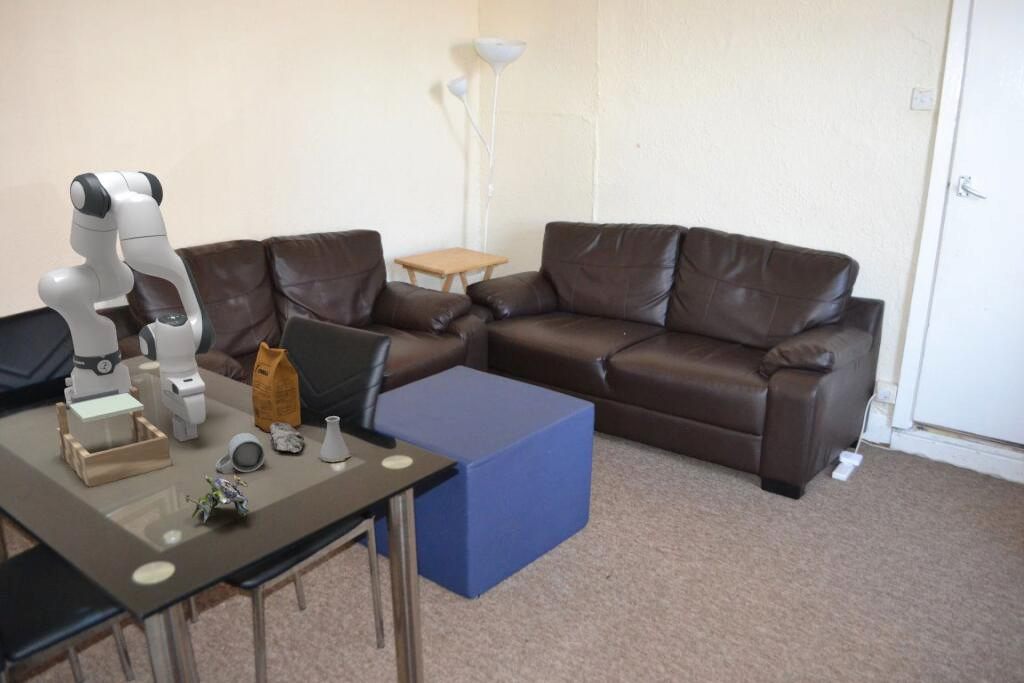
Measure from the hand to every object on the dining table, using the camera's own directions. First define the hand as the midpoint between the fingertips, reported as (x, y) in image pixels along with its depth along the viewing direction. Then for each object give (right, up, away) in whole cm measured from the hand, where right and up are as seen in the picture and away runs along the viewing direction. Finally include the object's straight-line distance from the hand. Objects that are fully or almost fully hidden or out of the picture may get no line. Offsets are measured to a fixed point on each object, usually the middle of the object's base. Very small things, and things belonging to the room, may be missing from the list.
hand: (185, 430), depth 207 cm
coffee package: (+21, 0, +8) cm, 23 cm away
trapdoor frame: (-11, -5, -14) cm, 18 cm away
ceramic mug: (+20, -7, -17) cm, 27 cm away
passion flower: (+24, -14, -41) cm, 49 cm away
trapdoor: (-13, +7, -14) cm, 21 cm away
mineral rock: (+27, -4, -4) cm, 28 cm away
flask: (+40, -5, -11) cm, 42 cm away
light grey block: (0, -2, 0) cm, 2 cm away
